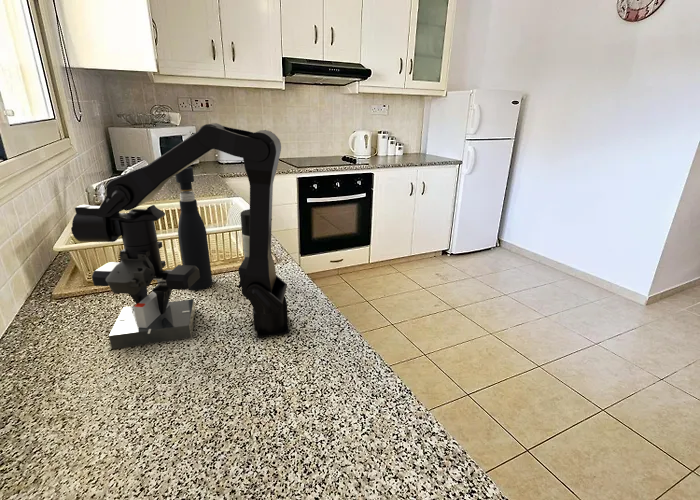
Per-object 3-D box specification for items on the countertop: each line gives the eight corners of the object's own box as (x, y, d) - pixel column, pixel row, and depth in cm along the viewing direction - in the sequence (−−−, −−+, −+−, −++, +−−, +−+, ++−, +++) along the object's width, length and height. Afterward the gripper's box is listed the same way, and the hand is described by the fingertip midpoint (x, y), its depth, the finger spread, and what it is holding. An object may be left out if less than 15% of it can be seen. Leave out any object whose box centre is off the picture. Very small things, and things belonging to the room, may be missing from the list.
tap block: (195, 308, 85) (194, 296, 84) (190, 341, 74) (188, 327, 72) (127, 316, 81) (124, 304, 80) (110, 352, 70) (106, 338, 69)
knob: (162, 304, 81) (158, 284, 79) (170, 304, 81) (166, 285, 79) (137, 327, 72) (133, 306, 71) (146, 328, 72) (142, 306, 70)
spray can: (270, 293, 93) (265, 215, 86) (243, 292, 93) (236, 215, 86) (276, 281, 99) (271, 208, 92) (250, 280, 99) (244, 207, 92)
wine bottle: (217, 283, 97) (204, 167, 86) (196, 292, 92) (179, 170, 81) (202, 277, 100) (186, 164, 90) (180, 286, 95) (162, 167, 85)
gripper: (59, 255, 63) (81, 333, 69) (167, 259, 63) (180, 338, 68) (103, 234, 74) (119, 303, 79) (196, 238, 73) (205, 307, 79)
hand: (154, 313), depth 76 cm, fingers open, 3 cm apart
